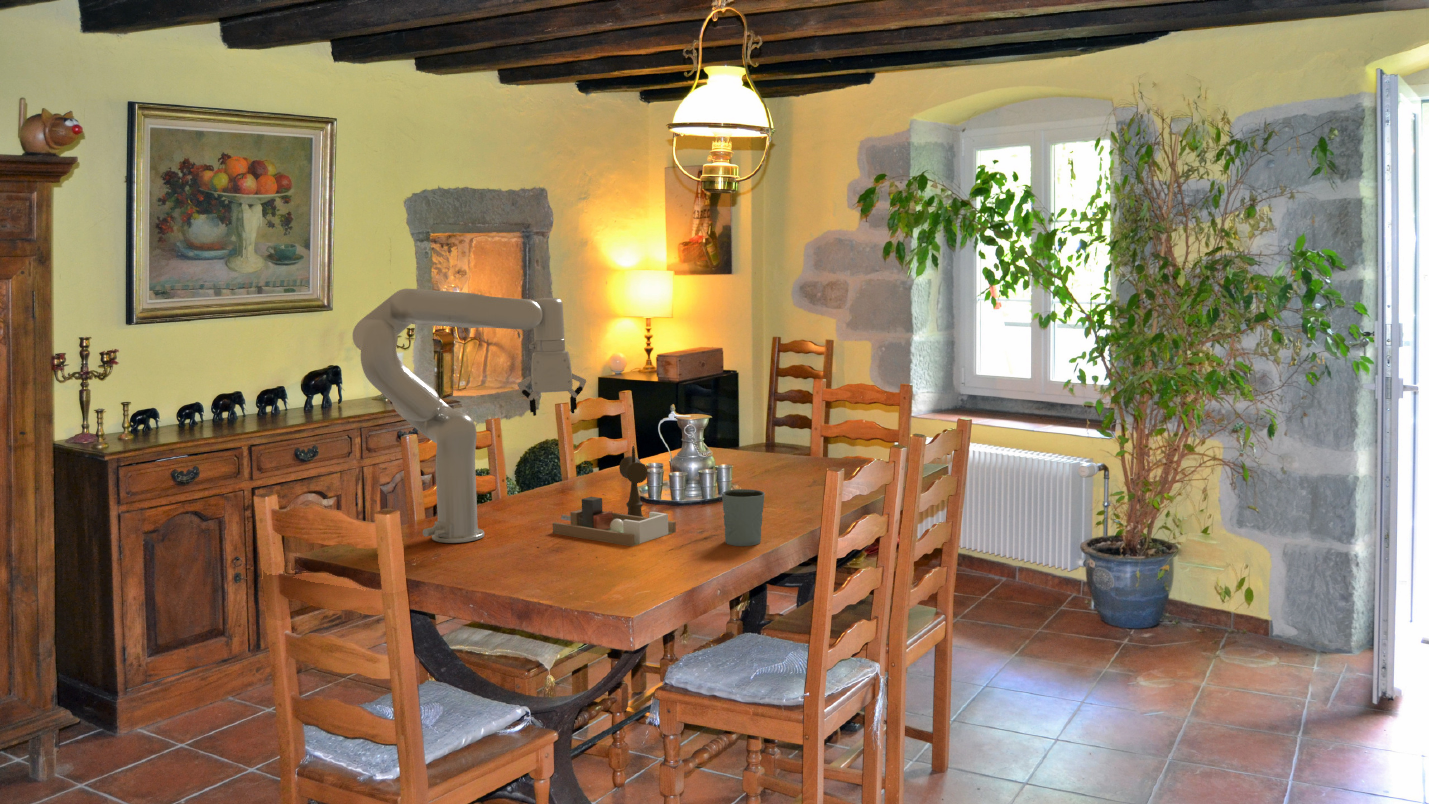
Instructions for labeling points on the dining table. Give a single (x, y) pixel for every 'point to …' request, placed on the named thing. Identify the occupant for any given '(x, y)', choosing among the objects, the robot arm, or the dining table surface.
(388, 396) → the robot arm
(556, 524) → the open rectangular tray
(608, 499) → the dining table surface
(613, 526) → the ball
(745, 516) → the grey cup
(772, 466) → the dining table surface
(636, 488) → the kendama
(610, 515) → the block
